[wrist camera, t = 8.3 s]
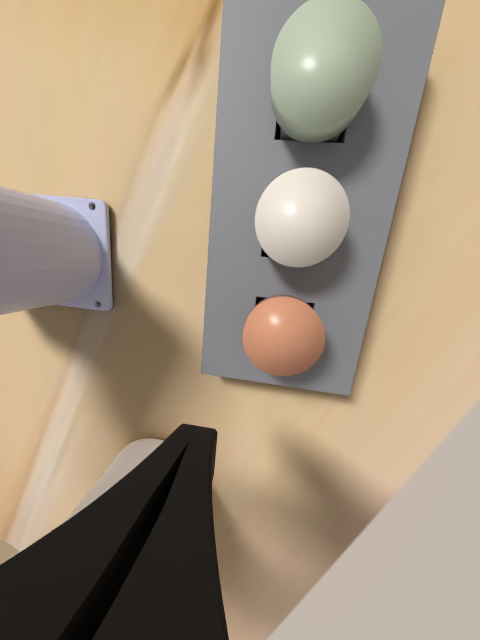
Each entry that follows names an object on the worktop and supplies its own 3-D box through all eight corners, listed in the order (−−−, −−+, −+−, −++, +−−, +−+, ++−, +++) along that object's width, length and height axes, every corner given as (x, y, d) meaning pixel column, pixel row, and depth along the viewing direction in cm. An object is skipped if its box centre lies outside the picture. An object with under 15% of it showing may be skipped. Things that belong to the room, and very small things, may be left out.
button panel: (338, 377, 18) (349, 395, 15) (209, 359, 19) (200, 373, 16) (413, 45, 13) (446, -6, 10) (231, 43, 14) (223, -4, 11)
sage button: (266, 163, 14) (264, 123, 10) (275, 76, 13) (278, -8, 9) (339, 167, 14) (368, 128, 10) (355, 78, 13) (395, -9, 9)
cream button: (255, 262, 16) (250, 262, 12) (263, 191, 15) (260, 164, 11) (320, 269, 16) (339, 271, 11) (333, 196, 14) (359, 170, 10)
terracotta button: (246, 344, 17) (238, 370, 13) (252, 286, 16) (246, 294, 12) (305, 352, 17) (317, 381, 13) (316, 293, 16) (332, 303, 12)
